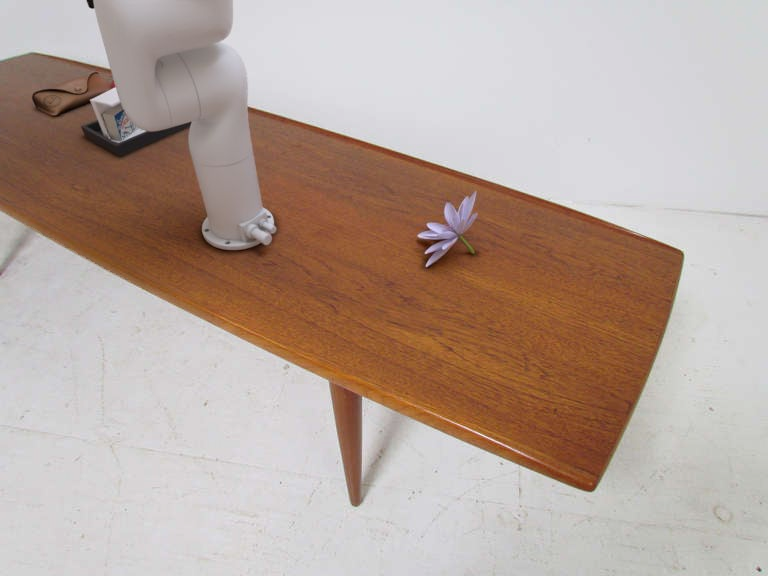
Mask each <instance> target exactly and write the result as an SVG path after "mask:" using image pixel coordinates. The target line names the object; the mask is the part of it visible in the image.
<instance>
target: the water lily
mask: <svg viewBox="0 0 768 576" xmlns="http://www.w3.org/2000/svg"><path fill="white" fill-rule="evenodd" d="M476 198H477V190H475V191H474V192H473V193H472V195H471V196H470V197H469V195H467V196H465V198H464V199H463V200H462V202H461V203H460V205H459V208H458V210H456V208H455V207H454V205H453V204H452V203H451V202H449V201H448V202H446V203H445V206H444V209H443V210H444V211H443V213H444V214H443V215H444V218H445V220H446V223H447V224H441V223H439V222H433V221H432V222H427V223H426V226H427V228H428V229H429V230H425V231H422V232H420V233H419V234H417V236H416V237H418V238H420V239H423V240H428V241H429V240H430V241H431V240H432V241H433V240H434V241H437V240H438V241H439V240H442V241H439V242H437V243H434V244H432V245H431V246H430V247H428V249H426V250H425V252H424V255H427V254H430V253H432V255H431V256H430V257H429V259H428V260H427V262H426V264H425V268H428V267H429V266H431V265H433V264H434V263H435V262H437V261H438V260H440V259H441V258H442V257H443V256H444V255H445V254H446V253H447V252H448V251H449V250H450V249H451V247H453V245H455V243H456V242H457V241H458V239H459V240H460V241H461V243H463V245H464V247H466V248H467V250H468V251H469V252H470V253H471V255H473V254H474V253H475V250H474V249H473V248H472V246H471V245H470V244H469V243H468V241H467V240H466V239H465V238H464V237H463V236H462V234H464V233H465V232H467V231H468V230H469V229H470V228H471V227H472V226H473V224H474V222H475V221H476V219H477V217H478V214H479V213H478V212H475V213H473V212H472V211H473V209H474V206H475V202H476ZM472 213H473V214H472ZM471 214H472V215H471ZM433 252H434V253H433Z"/></svg>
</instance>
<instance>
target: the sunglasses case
mask: <svg viewBox="0 0 768 576" xmlns="http://www.w3.org/2000/svg"><path fill="white" fill-rule="evenodd" d="M110 85H111V83H109V82H108V81H107V80H106V79H104V77H103V76H102V75H100V73H99V72H98V71H94V72H91V73H89V74H88V75H85V76H82V77H78V78H75V79H72V80H69V81H66V82H63V83H60V84H57V85H54V86H51V87H49V88H48V87H47V88H43V89H38V90H36V91H34V93H32V95H31V100H32V103H33V104H34V106H35V108H36V109H37V110H38V111H40V112H43V113H45V114H47V115H50V116H53V117H55V116H59V115H61V114H63V113H65V112H67V111H70V110H73V109H76V108H79V107H82V106H85V105H88V104H91V102H90V100H91V99H93V98H95V97H97V96H99V95H101V94H103V93H105V92H107V91H109V90H111V89H110Z"/></svg>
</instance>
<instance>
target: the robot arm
mask: <svg viewBox="0 0 768 576" xmlns="http://www.w3.org/2000/svg"><path fill="white" fill-rule="evenodd" d="M86 4H87V6H88V8H89V9H92V10H93V9H94V12H95V13H94V14H95V17H96V21H97V25H98V29H99V32H100V35H101V39H102V44H103V47H104V50H105V55H106V58H107V62H108V65H109V68H110V73H111V76H112V78H113V79H112V81H113V80H114V84H115V87H116V90H117V94H118V97H119V100H120V102H121V105H122V107H123V109H124V111H125V113H126V115H127V117H128V118H129V120H130V121H131V122H132V123H133V124H134V125H135V126H136V127H138V128H139V129H141V130H144V131H150V132H152V131H160V130H164V129H168V128H171V127H175V126H178V125H181V124H185V123H188V122H192V123H191V126H190V127H189V129H188V130H189V131H188V137H187V141H188V142H187V143H188V144H187V145H188V150H189V153H190V157H191V161H192V165H193V168H194V172H195V176H196V179H197V183H198V187H199V190H200V194H201V197H202V201H203V205H204V209H205V212H206V218H205V219H204V220H203V222H202V224H201V232H202V235H203V238H204V240H205V241H206V242H207V243H208V244H209V245H210V246H212V247H214V248H217V249H221V250H224V251H225V250H227V251H240V250H241V251H242V250H246V249H250V248H253V247H256V246H258V245H260V244H262V245H264V246H268V245H270V244H271V243H272V240H273V236H272V234H275V233H276V232H277V230H278V229H277V226H275V219H274V216H273V214H272V213H271V211H270V210H268V209H267V208H265V207H264V206H263V200H262V195H261V189H260V183H259V177H258V173H257V166H256V161H255V155H254V149H253V143H252V136H251V130H250V123H249V109H248V106H249V104H248V103H249V102H248V101H249V99H248V98H249V80H248V73H247V69H246V65H245V63H244V61H243V59H242V57H241V55H240V54H239V52H238V51H237V50H235V48H234V47H232V46H230V44H227V43H224V42H222V41H224V40H225V39H227V38H228V37H229V36H230V34H231V32H232V29H233V23H234V0H86Z"/></svg>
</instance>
